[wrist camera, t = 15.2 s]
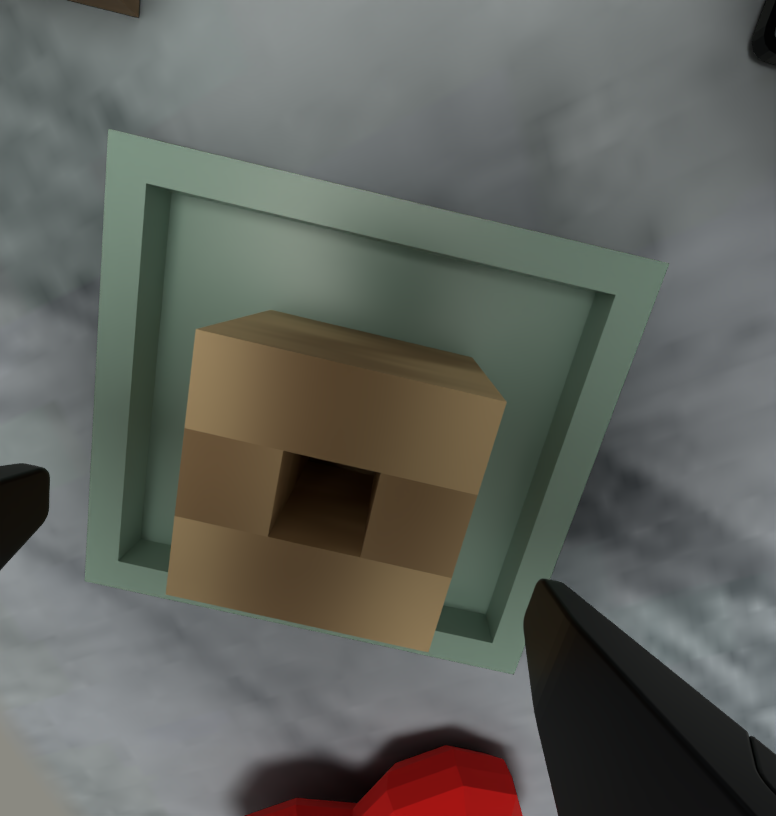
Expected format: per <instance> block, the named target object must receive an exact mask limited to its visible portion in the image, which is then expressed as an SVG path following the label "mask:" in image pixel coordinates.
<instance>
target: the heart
mask: <svg viewBox="0 0 776 816" xmlns="http://www.w3.org/2000/svg"><path fill="white" fill-rule="evenodd" d="M245 816H522V812H521V808H520V805H519V801H518V797H517V794H516V790H515V787H514V783H513V779H512V776H511V774H510V772H509V770H508V767H507V765H506V763H505V761H504V759H501V758H498V757H495V756H492V755H489V754H486V753H483V752H478V751H473V750H468V749H463V748H458V747H453V746H448V745H445V746H442V747H439V748H436V749H434V750H431V751H428V752H425V753H422V754H420V755H417V756H414V757H411V758H408V759H405V760H403V761H400V762H397V763H395V764H394V765H393V766H392V767H391V768H390V769H389V770H388V771H387V772H386V773H385V774H384V775H383V777H382V778H381V779H380V780H379V781H378V782H377V783H376V784H375V785H374V786H373V787H372V788H371V789H370V790H369V791H368V792H367V793H366V794H365V795H364V796H363V797H362V799H361V800H360V801H359V802H358V803H349V802H338V801H327V800H316V799H305V798H294V799H291V800H288V801H286V802H283V803H280V804H277V805H274V806H271V807H268V808H265V809H262V810H260V811H257V812H254V813H251V814H248V815H245Z"/></svg>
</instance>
